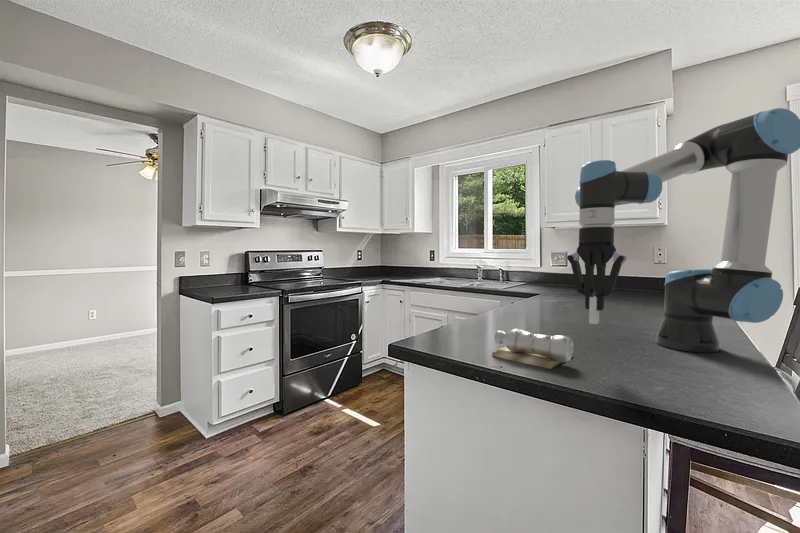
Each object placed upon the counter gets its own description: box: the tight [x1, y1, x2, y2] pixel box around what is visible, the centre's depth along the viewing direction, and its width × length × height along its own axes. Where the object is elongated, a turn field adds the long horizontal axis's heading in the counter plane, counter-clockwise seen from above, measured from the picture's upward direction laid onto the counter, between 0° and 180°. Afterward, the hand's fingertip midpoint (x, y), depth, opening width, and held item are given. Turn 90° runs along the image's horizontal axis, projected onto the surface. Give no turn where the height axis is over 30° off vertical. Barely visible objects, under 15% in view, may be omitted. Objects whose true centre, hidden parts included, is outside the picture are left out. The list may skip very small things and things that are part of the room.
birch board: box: [491, 345, 563, 370], centre depth 102 cm, size 16×15×1 cm
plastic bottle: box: [494, 328, 574, 363], centre depth 98 cm, size 6×7×20 cm
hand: (594, 323), depth 91 cm, fingers closed
